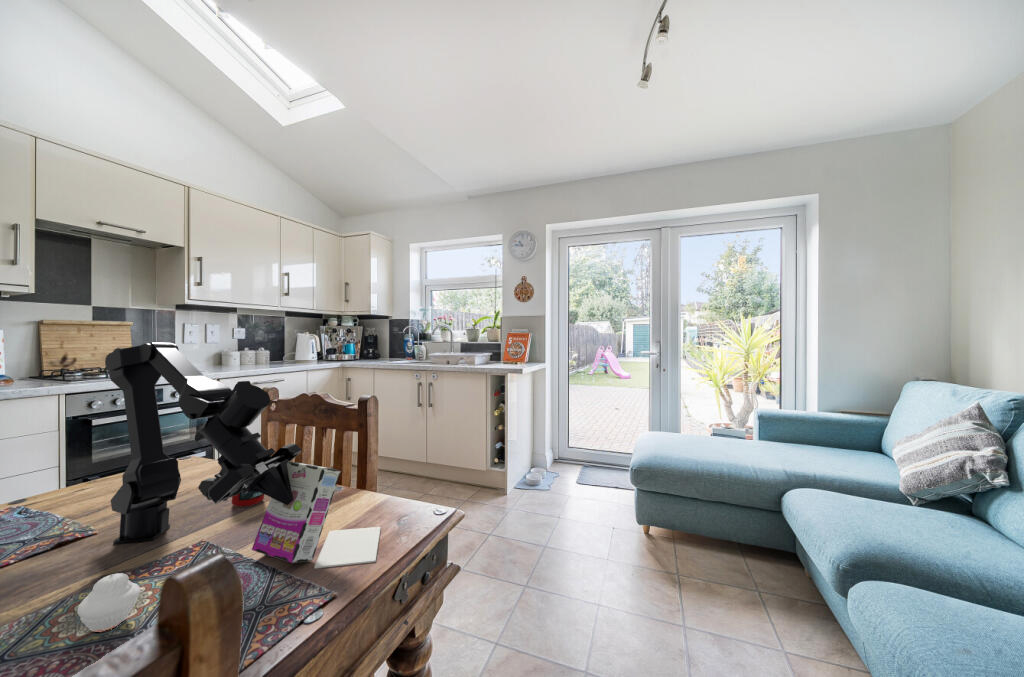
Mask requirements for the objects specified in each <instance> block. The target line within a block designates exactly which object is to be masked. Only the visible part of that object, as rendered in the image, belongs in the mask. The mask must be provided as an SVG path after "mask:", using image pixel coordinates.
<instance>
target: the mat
mask: <svg viewBox="0 0 1024 677" xmlns="http://www.w3.org/2000/svg"><path fill="white" fill-rule="evenodd" d="M381 529H382V528H381V526H372V527H362V528H361V527H359V528H347V529H336V530H329V531H328V534H327V535H326V539H325V541H324V543H323V546H322V548H321V550H320V552H319V555H318V557H317V559H316V562H315V564H314V569H322V568H323V569H324V568H331V567H332V568H333V567H343V566H350V565H361V564H369V563H376V562H377V554H378V549H379V540H380V535H381Z"/></svg>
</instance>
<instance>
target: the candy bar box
mask: <svg viewBox="0 0 1024 677" xmlns="http://www.w3.org/2000/svg"><path fill="white" fill-rule="evenodd" d="M287 468H288V475H289V481H290V486H291V491H292V495H293V501H292V502H291V503H290V504H289V505H285V504H283V503H281V502H279V501H277V500H275V499H273V498H271V497H270V500H269V502H268V505H267V507H266V510H265V513H264V516H263V518H262V521H261V523H260V526H259V528H258V531H257V534H256V537H255V538H254V541H253V545H252V547H251V551H253V552H256V553H259V554H263V555H266V556H267V557H272V558H275V559H277V560H281V561H284V562H287V563H290V564H297V563H309V562H312V561H314V557H315V554H316V551H317V548H318V544H319V541H320V538H321V535H322V531H323V529H324V525H325V522H326V519H327V516H328V513H329V509H330V507H331V504H332V500H333V498H334V497H333V496H334V494H335V490H336V489H337V488H336V487H337V485H338V481H339V478H340V474H341V472H342V471H341V470H339V469H336V468H331V467H325V466H319V465H314V464H308V463H303V462H295V461H291V462H289V461H288V463H287Z"/></svg>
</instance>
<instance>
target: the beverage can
mask: <svg viewBox="0 0 1024 677" xmlns="http://www.w3.org/2000/svg"><path fill="white" fill-rule="evenodd" d="M244 484H246V483H244ZM244 484H243V489H242V490H241V492H240V493H239V494H237V495H236V496H232V497H231V504H232V505H233V506H235V507H236V508H237V507H238V508H250V507H254V506H256V505H258V504H259V503H261V502H262V501H263V500H264V499H265V494H262V493H260V492H248V493H245V494H243V493H242V491H244V490H245V489H246V488H247V487H246V486H245V485H244ZM257 503H258V504H257ZM255 504H256V505H255ZM253 505H254V506H253ZM249 506H250V507H249Z"/></svg>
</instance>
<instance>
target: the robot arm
mask: <svg viewBox="0 0 1024 677" xmlns="http://www.w3.org/2000/svg"><path fill="white" fill-rule="evenodd" d="M179 350H180V349H179V347H178V345H177V344H175V343H172V342H147V343H142V344H140V345H136V346H130V347H116V348H115V349H113V350H112V352H109V353H108V354H106V357H105V359H104V363H105V368H106V369H107V370H108V374H109V378H110V379H109V380H111V382H112V383H113V384H114V385H115V386H116V387H117V388H119V389H120V390H121V391H122V393H123V400H124V408H125V415H126V416H125V417H126V424H127V431H128V441H129V448H130V455H131V456H130V457H131V460H130V463H129V464H128V465H127V468H126V470H125V471H124V472H123V473H122V480H121V481H122V485H121V486H120V488H119V489H118V490H117V491H116V493H114V495H113V496H112V498H111V499H110V507H111V511H112V512H116V513H118V514H120V520H119V535H118V537H117V538H115V539H114V540H112V543H113V544H124V543H125V544H127V543H137V542H148V541H153V540H154V539H156V538H157V537H159V536H160V535H161V534H162V533H164V532H166V531H167V529H169V528H170V527H171V524H170V523H169V522H170V521H169V520H170V508H168V501H169V502H170V501H174V500H176V498H177V496H178V495H177V494H178V490H179V488H180V485H181V481H182V478H181V476H182V475H181V473H180V470H179V461H178V459H177V458H176V457H170V455H168V454H166V453H165V450H164V444H163V435H162V428H161V423H160V422H161V421H160V414H159V408H158V400H157V393H156V385H157V383H159V381H160V379H161V376H162V378H164V379H165V381H166V382H167V383H168V384H169V386H171V387H172V388H173V389H174V390H175V391H176V392H177V394H178V395H179V397H178V400H177V405H178V406H179V408H180V409H181V411H182V413H183V414H184V415H185V417H186V418H187V419H189V420H200V419H206V418H208V419H207V420H206V421H205V422H204V423H203V424H202V423H201V424H200V425H197V426H196V427H195V428H196V430H195V434H194V441H195V442H200V441H202V440H205V439H206V440H207V441H208V443H210V445H211V446H212V447H213V448H214V449H215V450H216V451H217V453H218V454H219V455H220V456H219V457H218V458H217V459H216V461H217V464H218V465H219V466H220V468H221V469H220V470H219V472H218V473H216V474H214V475H213V476H214V477H208V478H206V479H205V478H204V479H203V480H201V481H200V482H199V485H198V487H197V488H198V490H199V491H200V492H201V494H202V495H203V496H204V497H205V498H206V499H207V500H208V501H212V502H213V504H215V505H217V504H218V503H222V502H226V501H228V499H230V498H232V496H236V495H237V494H239V493H240V492H241V490H242V489H243V484H244V483H246V484H244V485H245V486H246V487H247V488H246V489H245V490H244V491H242V493H243V494H245V493H248V492H260V493H262V494H264V496H267V497H270V499H271V498H273V499H275V500H277V501H279V502H281V503H283V504H285V505H289V504H290V503H291V502H292V501H293V495H292V491H291V486H290V481H289V475H288V468H287V463H288V461H289V462H293V460H294V459H295V458H296V457H297V456H298V455H299V454H301V452H302V451H303V450H302V449H301V447H299V445H298V444H296V443H289V444H287V445H283V446H282V447H279V449H278V450H275V449H274V448H273V447H270V448H268V449H267V448H266V447H265V446H264V445H263V444H262V443H261V442H260V441H259V439H260V438H261V437H262V434H260V433H259V432H255V433H254V432H253V433H252V432H251V431H250V430H249V429H248V428H247V427H249V426H251V425H252V424H253V423H254V422H255V421H256V419H258V417H259V416H260V415H261V414H262V413H263V411H264V410H266V408H267V407H268V406H269V405H270V403H271V396H270V394H269V392H267V391H265V390H264V389H263V388H261V387H259V386H257V385H253V384H252V383H251V381H250V380H242V381H241V380H239V381H237V382H236V384H235V385H234V386H233V389H232V388H230V386H227V385H226V384H224V383H223V382H221V381H218V380H215V379H212V378H208V377H207V376H205V375H204V374H203V373H202V372H201V371H200V370H199V369H198V368H197V367H196V366H195V365H194V364H193V363H192V362H191V361H190V360H189V359H188V358H187V357H185V356H184V354H183V353H181V352H180V351H179Z"/></svg>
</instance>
